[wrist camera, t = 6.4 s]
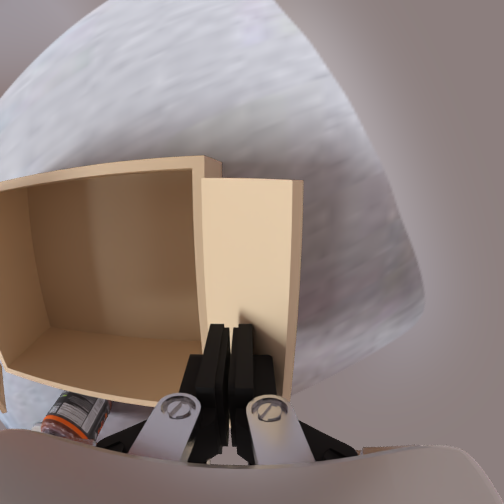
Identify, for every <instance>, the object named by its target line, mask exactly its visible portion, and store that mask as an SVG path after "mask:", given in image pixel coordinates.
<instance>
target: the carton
mask: <svg viewBox="0 0 504 504" xmlns="http://www.w3.org/2000/svg"><path fill="white" fill-rule="evenodd" d="M201 178H222V162H220V161H218V160H215V159H212V158H210V157H207V156H205V155H202V156H181V157H165V158H152V159H141V160H130V161H121V162H112V163H104V164H96V165H89V166H82V167H75V168H69V169H62V170H56V171H51V172H45V173H40V174H35V175H30V176H25V177H20V178H16V179H11V180H7V181H2V182H0V359H1V362H2V364H3V366H4V369H5V371H6V372H8V373H11V374H14V375H17V376H20V377H23V378H26V379H29V380H32V381H35V382H38V383H41V384H45V385H48V386H52V387H55V388H59V389H63V390H67V391H70V392H75V393H79V394H83V395H87V396H92V397H97V398H102V399H107V400H112V401H117V402H123V403H129V404H136V405H143V406H150V407H155V406H156V405H157V403H158V402H159V401H160V399H161V398H163V397H165V396H166V395H169V394H173V393H179V389H180V386H181V382H182V379H183V376H184V372H185V369H186V366H187V362H188V359H189V356H190V354H203V352H204V348H205V344H206V340H207V335H208V324H207V309H206V294H205V276H204V255H203V230H202V192H201Z"/></svg>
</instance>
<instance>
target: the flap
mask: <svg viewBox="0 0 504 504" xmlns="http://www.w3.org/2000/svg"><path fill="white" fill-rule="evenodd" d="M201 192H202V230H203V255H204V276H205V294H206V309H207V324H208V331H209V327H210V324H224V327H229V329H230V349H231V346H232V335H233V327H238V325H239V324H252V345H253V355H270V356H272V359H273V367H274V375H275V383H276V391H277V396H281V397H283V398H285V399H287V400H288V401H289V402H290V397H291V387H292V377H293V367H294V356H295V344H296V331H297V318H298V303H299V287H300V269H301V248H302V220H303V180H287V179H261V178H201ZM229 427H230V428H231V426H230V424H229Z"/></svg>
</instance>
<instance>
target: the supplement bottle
mask: <svg viewBox="0 0 504 504" xmlns="http://www.w3.org/2000/svg"><path fill="white" fill-rule="evenodd" d="M111 406H112V404H111V400H107V399H102V398H97V397H92V396H87V395H83V394H79V393H75V392H70V391H67V390H64V391H63V393H62V394H61V396H60V397H59V398H58V400H57V401H56V403H55V404H54V405H53V407H52V408H51V410H50V411H49V412H48V414H47V415H46V417H45V418H44V420H43V422H42V424H41V432H43V433H47V434H51V435H54V436H60V437H69V438H81V439H94V441H96V439H97V436H98V434H99V432H100V430H101V428H102V426H103V424H104V422H105V420H106V418H107V417H108V414H109V413H110V410H111Z"/></svg>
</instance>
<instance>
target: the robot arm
mask: <svg viewBox="0 0 504 504" xmlns="http://www.w3.org/2000/svg"><path fill="white" fill-rule="evenodd" d="M41 424H42V423H37V424H35V425H34V426H33V427H32V429H31V430H26V429H5V430H0V504H504V503H503V501H502V499H501V497H500V496H499V494H498V492H497V490H496V489H495V487H494V486H493V484H492V483H491V481H490V479H489V478H488V476H487V475H486V473H485V472H484V471H483V469H482V468H481V467H480V465H479V464H478V463H477V462H476V461H475V460H474V459H473V458H472V457H471V456H470V455H469V454H468V453H467V452H465V451H463V450H462V449H459V448H456V447H451V446H444V445H423V446H420V445H406V446H391V447H363V448H362V450H354V448H352V447H351V446H349V445H347V444H345V443H343V442H340V441H339V440H337V439H334V438H332V437H330V436H328V435H326V434H324V433H322V432H320V431H318V430H316V429H314V428H313V427H311V426H309V425H307V424H305V423H303V422H301V421H299V420H298V418H297V416H296V414H295V411H294V409H293V407H292V405H291V403H290V402H289V401H288V400H287V399H285V398H283V397H281V396H277V391H276V383H275V375H274V367H273V359H272V356H270V355H253V345H252V324H239V325H238V327H233V335H232V346H231V349H230V329H229V327H224V324H210V327H209V331H208V335H207V340H206V344H205V348H204V352H203V354H190V356H189V359H188V362H187V366H186V369H185V372H184V376H183V379H182V382H181V386H180V389H179V393H173V394H169V395H166V396H165V397H163V398H161V399H160V401H159V402H158V403H157V405H156V406H155V408H154V410H153V411H152V413H151V415H150V416H149V418H148V419H147V420H145V421H143V422H141V423H139V424H136V425H134V426H132V427H129V428H127V429H125V430H122V431H120V432H118V433H115V434H113V435H111V436H108V437H106V438H104V439H102V440H100V441H99V442H98V443H97V442H95V441H94V439H81V438H69V437H60V436H54V435H51V434H47V433H43V432H41ZM229 424H230V426H231V438H232V446H233V447H237V454H238V455H239V456H241V457H242V458H244V459H245V460H246V461H248V465H214V464H210V462H211V460H210V459H211V458H212V457H214V456H216V455H217V454H222V446H228V438H229Z"/></svg>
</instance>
